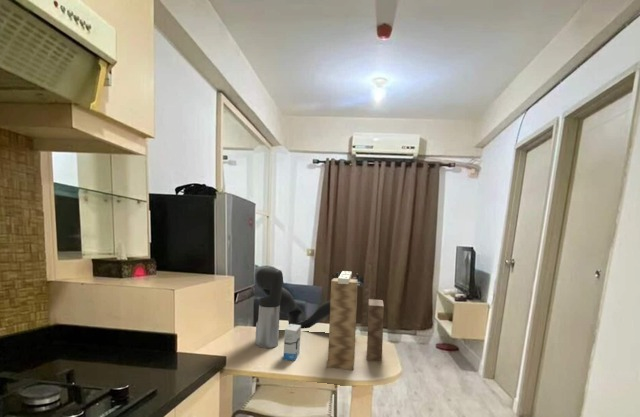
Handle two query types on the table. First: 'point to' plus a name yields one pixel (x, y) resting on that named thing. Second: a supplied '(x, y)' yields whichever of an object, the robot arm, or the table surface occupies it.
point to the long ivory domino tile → (344, 277)
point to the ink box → (292, 342)
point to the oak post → (342, 324)
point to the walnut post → (375, 330)
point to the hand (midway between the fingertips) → (347, 274)
